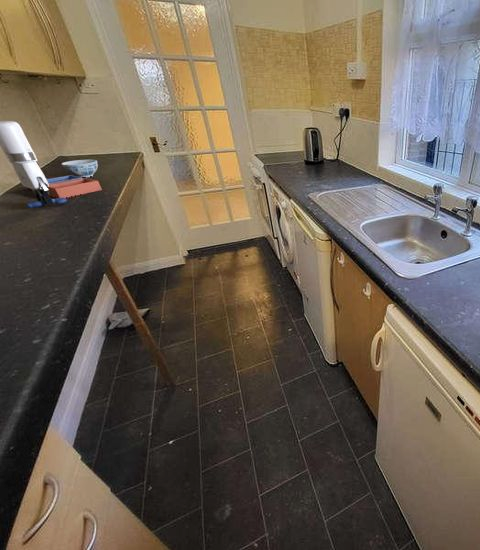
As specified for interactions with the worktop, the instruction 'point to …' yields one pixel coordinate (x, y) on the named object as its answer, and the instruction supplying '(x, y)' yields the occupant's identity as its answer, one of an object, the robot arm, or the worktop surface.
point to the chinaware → (81, 167)
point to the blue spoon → (39, 203)
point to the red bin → (73, 188)
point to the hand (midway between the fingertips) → (47, 204)
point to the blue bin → (62, 179)
